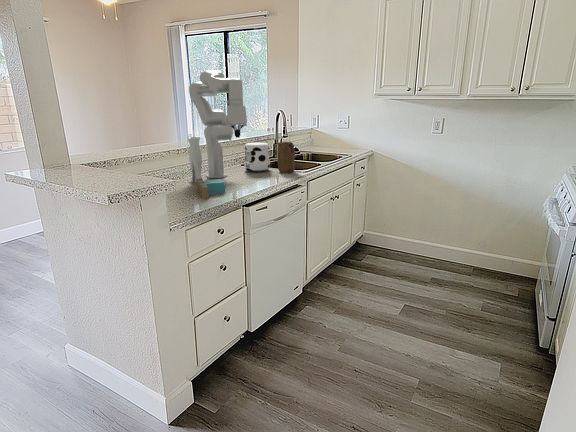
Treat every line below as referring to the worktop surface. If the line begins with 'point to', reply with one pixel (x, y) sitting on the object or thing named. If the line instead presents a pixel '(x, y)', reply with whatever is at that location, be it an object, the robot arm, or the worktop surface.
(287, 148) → the block
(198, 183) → the walnut board
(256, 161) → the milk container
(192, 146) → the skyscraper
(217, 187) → the teal block
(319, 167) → the worktop surface
